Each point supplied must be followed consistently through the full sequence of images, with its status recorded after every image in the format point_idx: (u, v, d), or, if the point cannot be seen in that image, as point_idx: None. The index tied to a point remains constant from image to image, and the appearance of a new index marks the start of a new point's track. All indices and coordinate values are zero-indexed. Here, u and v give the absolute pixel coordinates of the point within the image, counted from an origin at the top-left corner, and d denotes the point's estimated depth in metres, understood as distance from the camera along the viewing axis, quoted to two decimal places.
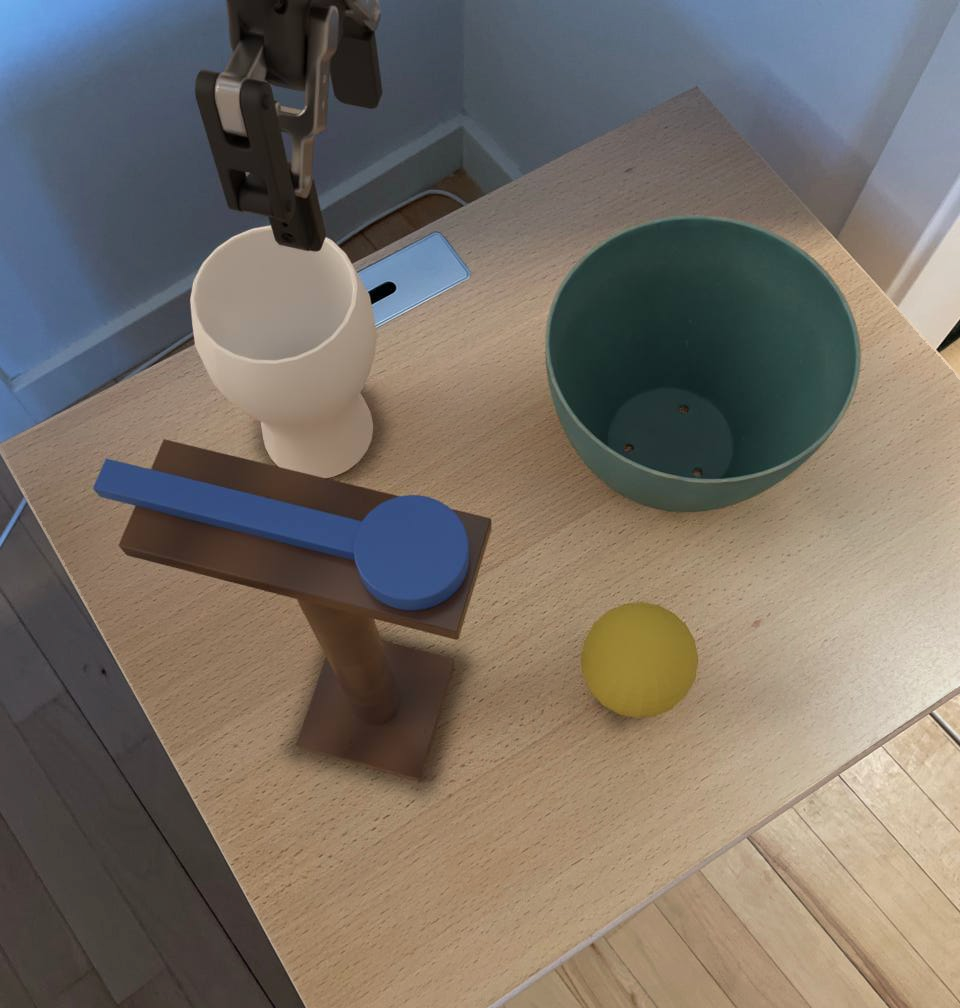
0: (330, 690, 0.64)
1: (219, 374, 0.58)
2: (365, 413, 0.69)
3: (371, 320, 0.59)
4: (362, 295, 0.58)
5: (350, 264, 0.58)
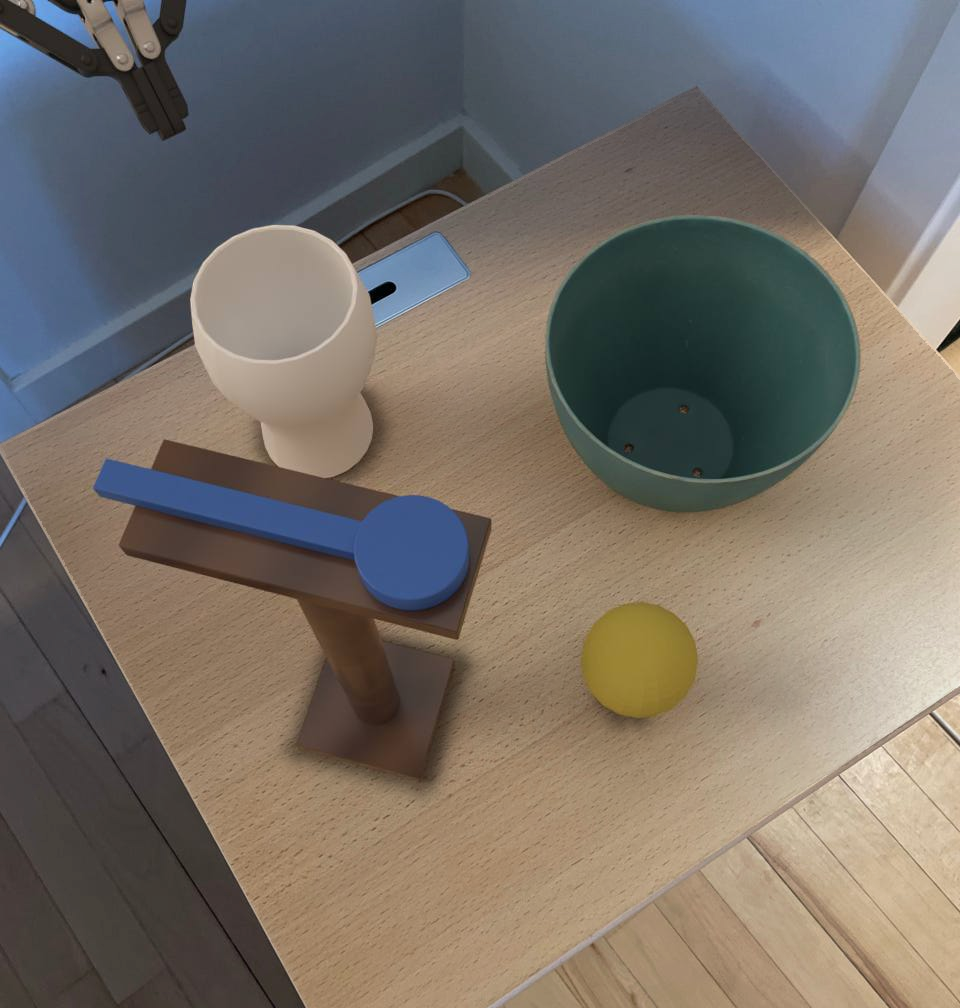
0: (330, 690, 0.64)
1: (219, 374, 0.58)
2: (365, 413, 0.69)
3: (371, 320, 0.59)
4: (362, 295, 0.58)
5: (350, 264, 0.58)
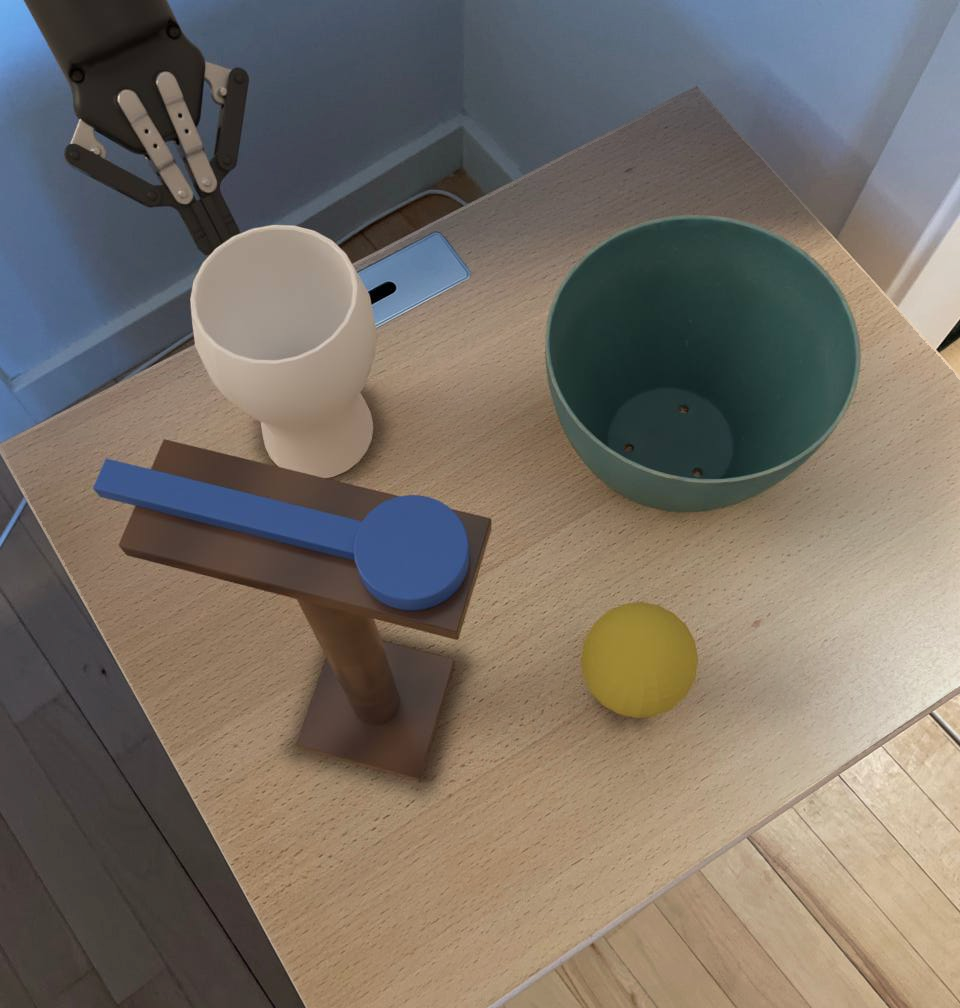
0: (330, 690, 0.64)
1: (219, 374, 0.58)
2: (365, 413, 0.69)
3: (371, 320, 0.59)
4: (362, 295, 0.58)
5: (350, 264, 0.58)
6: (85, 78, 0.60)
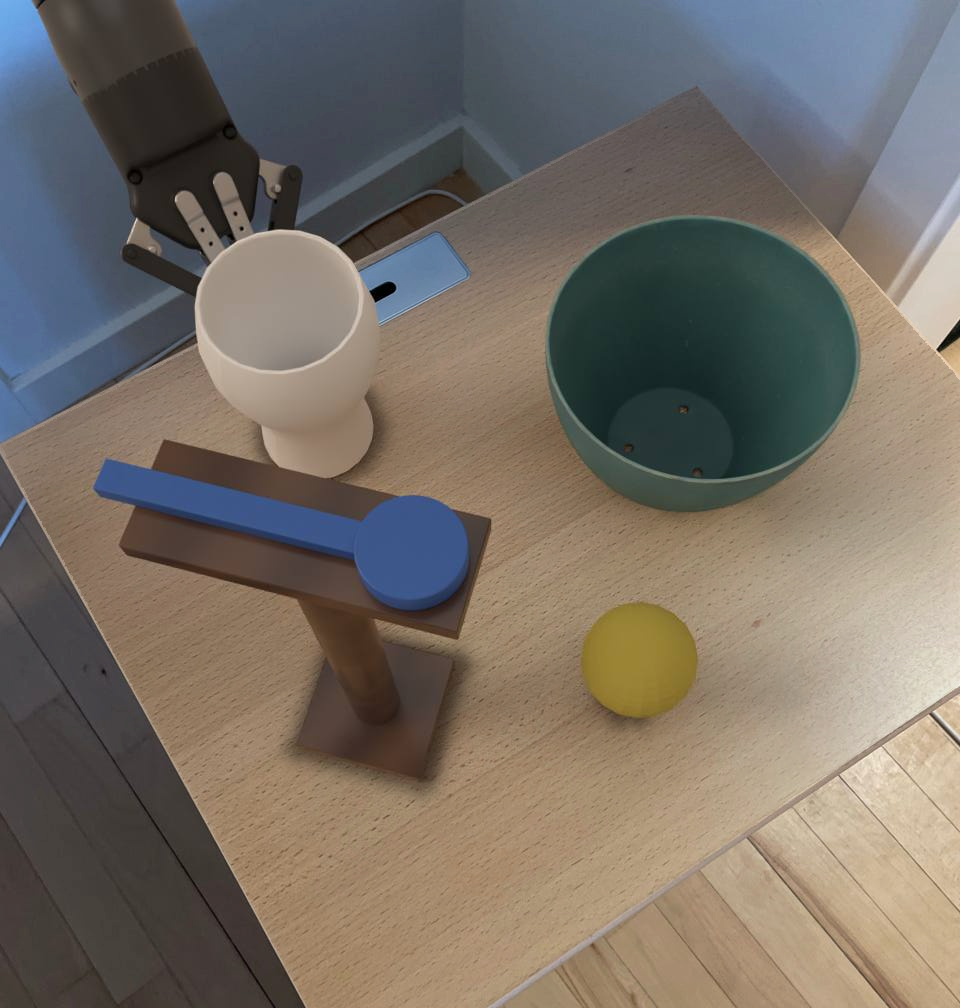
0: (330, 690, 0.64)
1: (224, 382, 0.58)
2: (366, 414, 0.69)
3: (376, 328, 0.59)
4: (368, 303, 0.58)
5: (356, 272, 0.58)
6: (143, 179, 0.61)
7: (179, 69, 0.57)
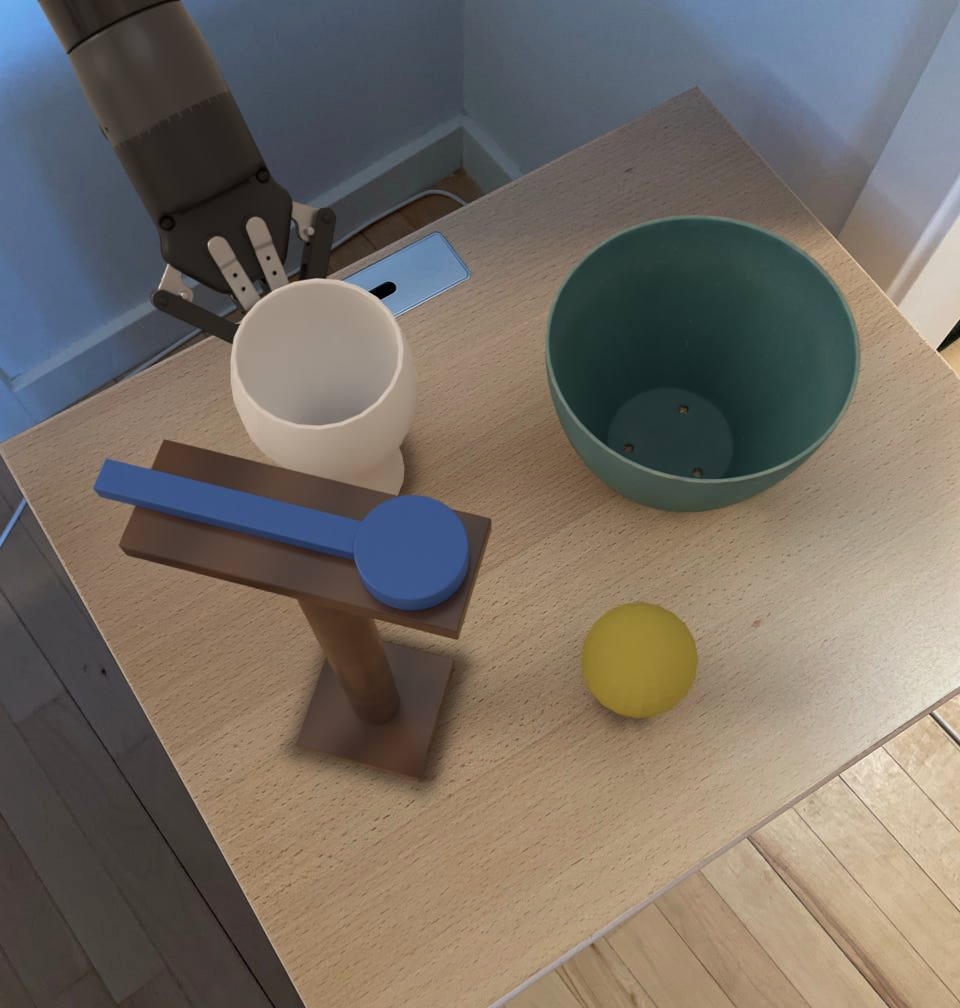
0: (330, 690, 0.64)
1: (259, 434, 0.57)
2: (398, 458, 0.68)
3: (415, 379, 0.58)
4: (407, 356, 0.57)
5: (396, 324, 0.56)
6: (175, 225, 0.59)
7: (213, 115, 0.56)
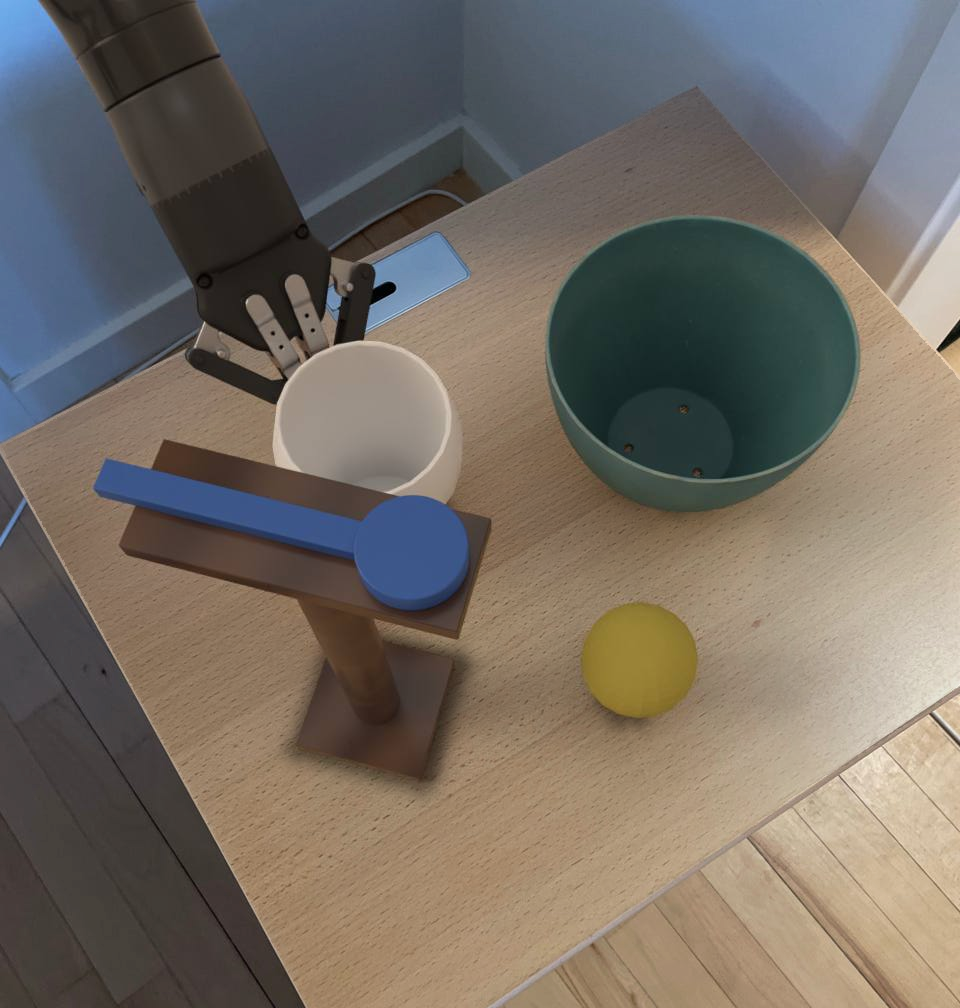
0: (330, 690, 0.64)
1: None
2: None
3: (461, 441, 0.57)
4: (455, 419, 0.55)
5: (443, 386, 0.55)
6: (212, 283, 0.58)
7: (254, 174, 0.55)
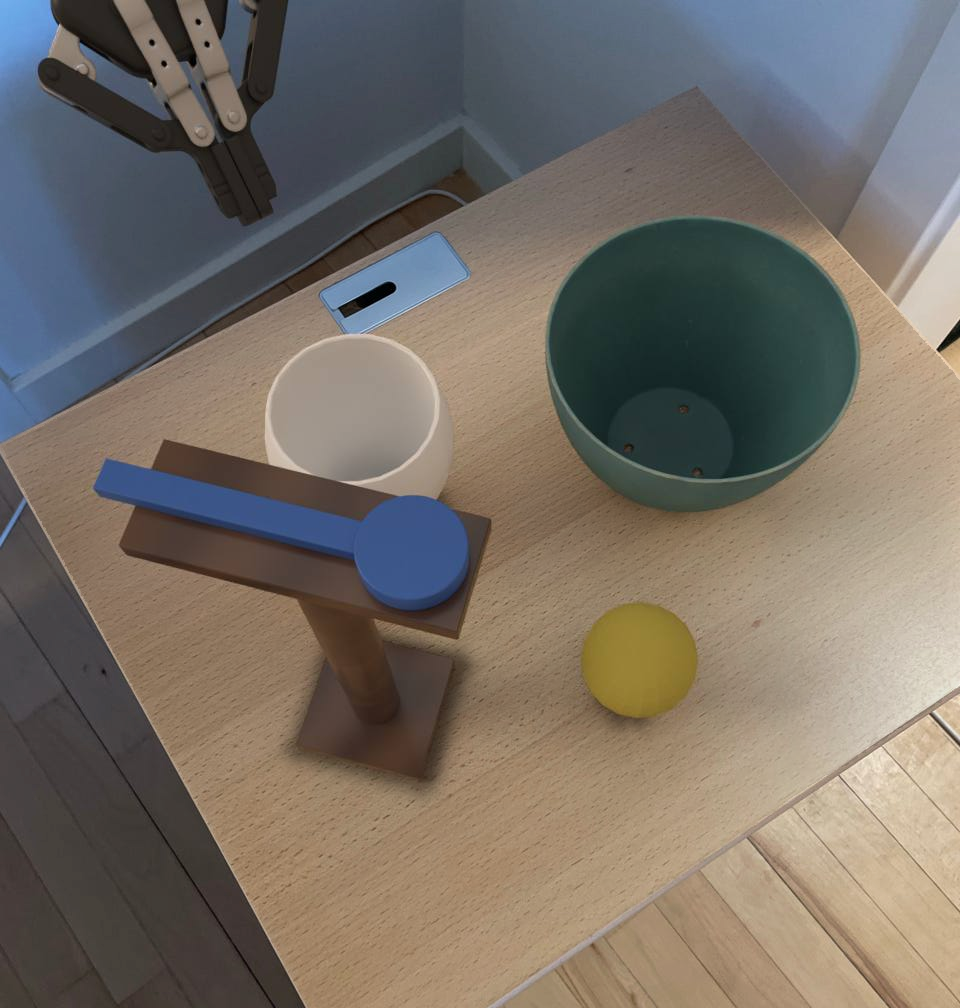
0: (330, 690, 0.64)
1: None
2: None
3: (451, 430, 0.57)
4: (444, 406, 0.56)
5: (431, 375, 0.55)
6: None
7: None
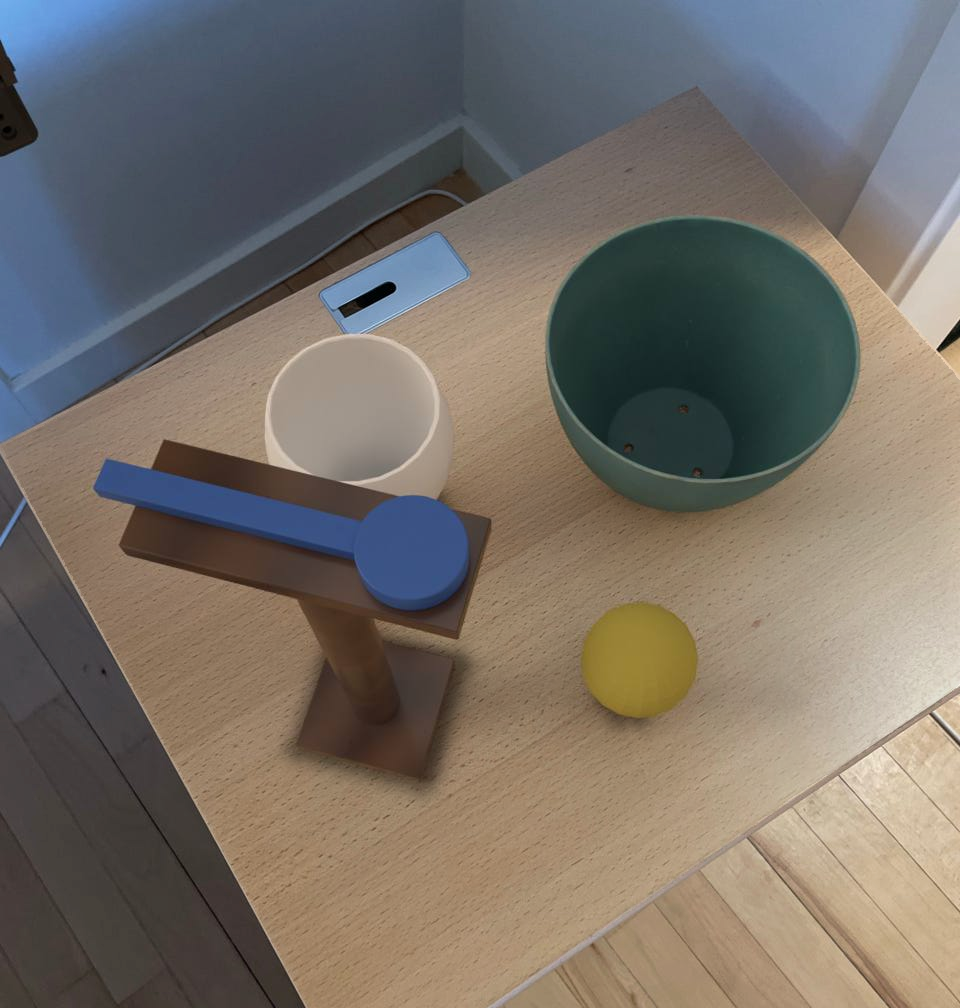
0: (330, 690, 0.64)
1: None
2: None
3: (451, 430, 0.57)
4: (444, 406, 0.56)
5: (431, 375, 0.55)
6: None
7: None
